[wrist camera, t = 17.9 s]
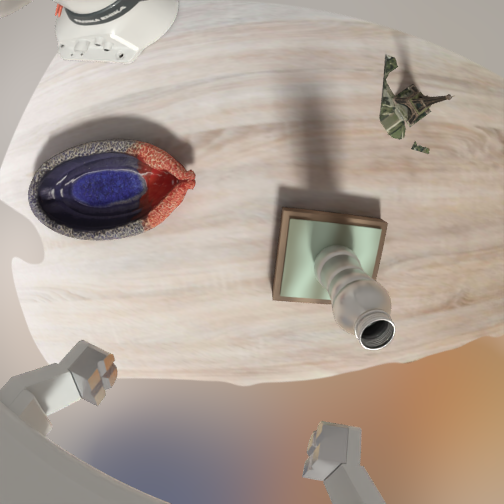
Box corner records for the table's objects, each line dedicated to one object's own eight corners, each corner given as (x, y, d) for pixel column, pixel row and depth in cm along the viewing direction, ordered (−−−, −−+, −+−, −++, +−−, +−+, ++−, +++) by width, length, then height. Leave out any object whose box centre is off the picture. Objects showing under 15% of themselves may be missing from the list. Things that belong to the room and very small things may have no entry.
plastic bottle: (313, 240, 45) (349, 304, 26) (357, 241, 45) (416, 303, 26) (309, 281, 47) (337, 363, 28) (351, 282, 47) (400, 359, 28)
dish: (38, 152, 45) (21, 154, 40) (199, 133, 44) (192, 131, 39) (45, 235, 50) (30, 242, 45) (201, 234, 49) (195, 243, 44)
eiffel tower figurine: (383, 53, 39) (420, 28, 27) (435, 72, 39) (480, 57, 27) (375, 140, 44) (413, 139, 31) (428, 154, 44) (475, 159, 32)
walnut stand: (272, 291, 52) (272, 301, 48) (282, 206, 47) (283, 211, 44) (364, 298, 52) (369, 307, 48) (380, 218, 47) (388, 223, 44)
